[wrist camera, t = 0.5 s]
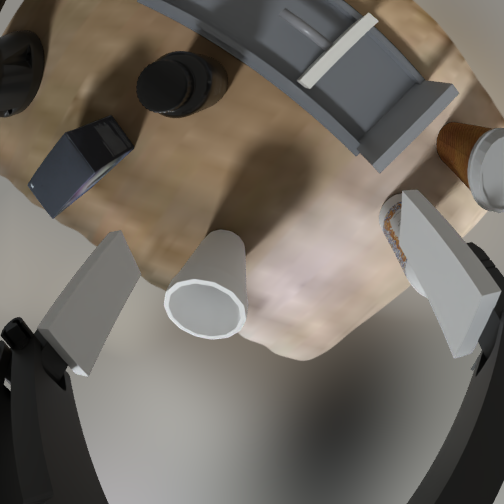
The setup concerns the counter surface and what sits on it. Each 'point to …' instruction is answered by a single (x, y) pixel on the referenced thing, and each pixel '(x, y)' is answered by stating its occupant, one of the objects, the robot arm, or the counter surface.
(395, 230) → the bath foam
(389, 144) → the tray
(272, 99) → the counter surface
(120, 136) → the small box
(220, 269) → the foam cup
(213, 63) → the supplement bottle
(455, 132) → the disposable coffee cup
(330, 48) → the pusher
